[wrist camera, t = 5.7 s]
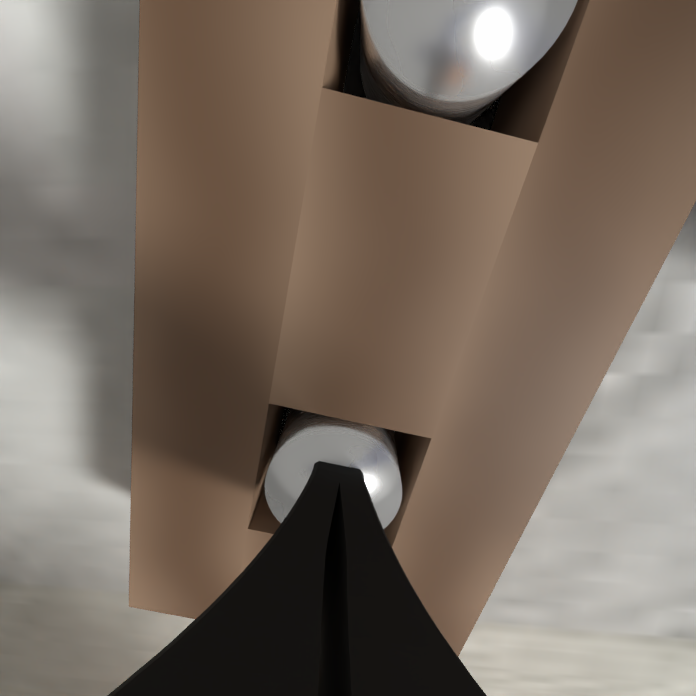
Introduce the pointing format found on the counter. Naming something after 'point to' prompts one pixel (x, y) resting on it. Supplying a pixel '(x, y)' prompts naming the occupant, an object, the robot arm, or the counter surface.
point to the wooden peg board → (385, 277)
